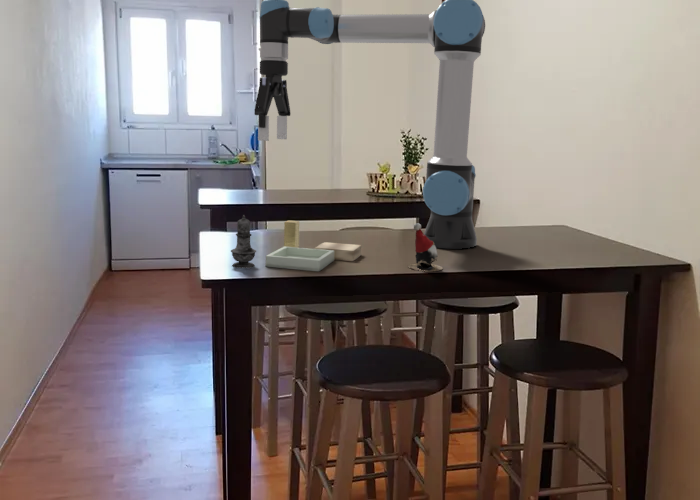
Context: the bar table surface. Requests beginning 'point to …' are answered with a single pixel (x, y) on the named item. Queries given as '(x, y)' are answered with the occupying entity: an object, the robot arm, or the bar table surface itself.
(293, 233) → the block
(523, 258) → the bar table surface
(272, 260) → the tray
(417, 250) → the figurine
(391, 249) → the bar table surface
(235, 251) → the salt shaker
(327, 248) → the beige rectangular block
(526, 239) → the bar table surface
